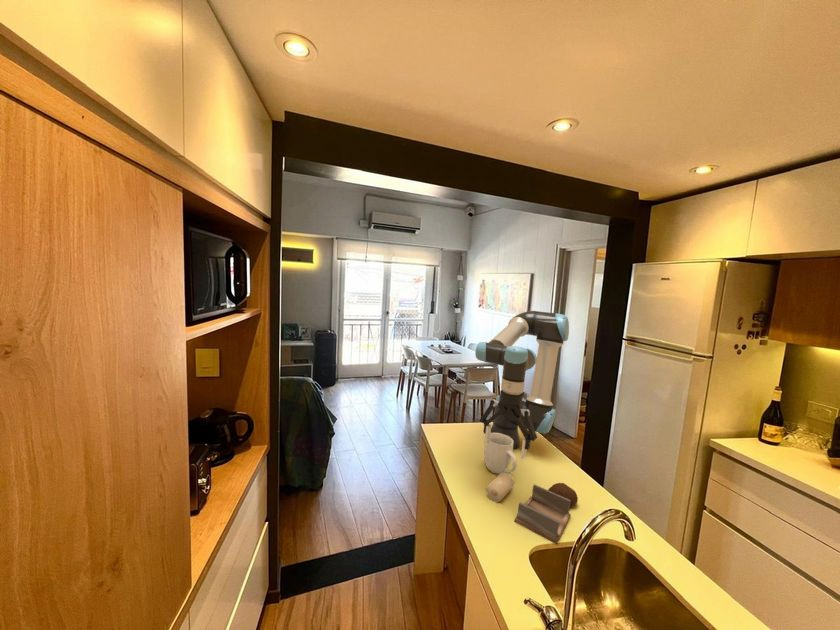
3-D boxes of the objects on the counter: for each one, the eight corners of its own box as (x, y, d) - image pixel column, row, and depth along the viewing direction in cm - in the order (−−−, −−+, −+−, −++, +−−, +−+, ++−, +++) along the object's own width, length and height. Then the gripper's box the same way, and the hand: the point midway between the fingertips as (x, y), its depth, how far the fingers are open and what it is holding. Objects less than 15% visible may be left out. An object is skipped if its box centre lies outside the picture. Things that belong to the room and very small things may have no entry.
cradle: (531, 498, 119) (533, 482, 118) (570, 516, 111) (572, 499, 110) (514, 521, 106) (516, 503, 105) (556, 543, 98) (559, 524, 98)
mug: (523, 478, 131) (527, 446, 130) (503, 485, 125) (508, 452, 124) (495, 459, 144) (499, 430, 142) (476, 465, 137) (480, 435, 136)
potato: (581, 511, 114) (584, 492, 114) (551, 508, 114) (553, 489, 114) (572, 498, 121) (574, 480, 121) (543, 495, 121) (546, 477, 121)
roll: (497, 484, 126) (499, 469, 125) (513, 491, 122) (514, 476, 121) (485, 497, 117) (487, 480, 117) (501, 505, 114) (503, 488, 113)
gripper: (474, 384, 120) (468, 440, 123) (544, 404, 105) (536, 468, 107) (484, 380, 126) (477, 434, 128) (551, 399, 111) (543, 459, 113)
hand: (504, 449), depth 118 cm, fingers open, 13 cm apart
